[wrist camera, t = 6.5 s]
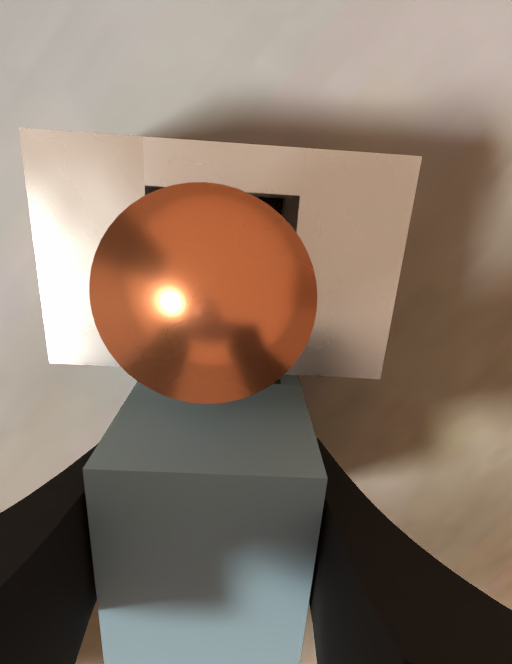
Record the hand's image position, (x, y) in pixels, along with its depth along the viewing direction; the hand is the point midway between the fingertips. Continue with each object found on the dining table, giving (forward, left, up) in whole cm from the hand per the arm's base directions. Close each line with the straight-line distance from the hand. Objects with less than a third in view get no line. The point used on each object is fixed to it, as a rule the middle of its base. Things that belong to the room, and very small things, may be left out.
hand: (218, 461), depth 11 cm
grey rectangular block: (0, +6, -3) cm, 7 cm away
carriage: (0, -1, -3) cm, 3 cm away
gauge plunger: (0, +6, -1) cm, 6 cm away
